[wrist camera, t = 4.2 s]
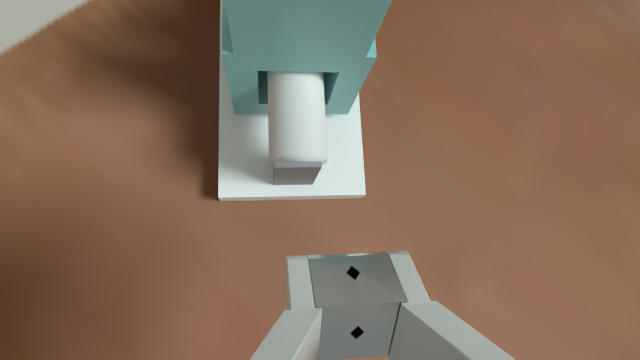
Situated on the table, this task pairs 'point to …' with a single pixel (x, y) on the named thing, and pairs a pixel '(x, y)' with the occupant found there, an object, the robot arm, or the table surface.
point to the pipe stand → (289, 143)
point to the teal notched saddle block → (299, 47)
